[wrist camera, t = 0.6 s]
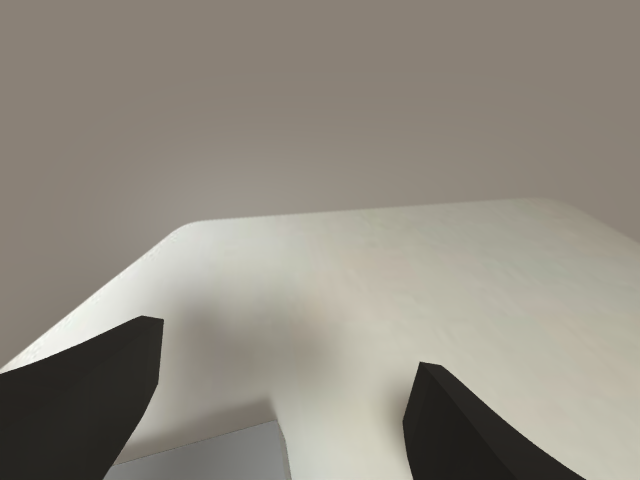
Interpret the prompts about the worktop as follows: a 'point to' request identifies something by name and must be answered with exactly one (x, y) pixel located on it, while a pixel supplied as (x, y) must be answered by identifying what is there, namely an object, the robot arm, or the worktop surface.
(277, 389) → the worktop surface
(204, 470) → the socket block
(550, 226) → the worktop surface
